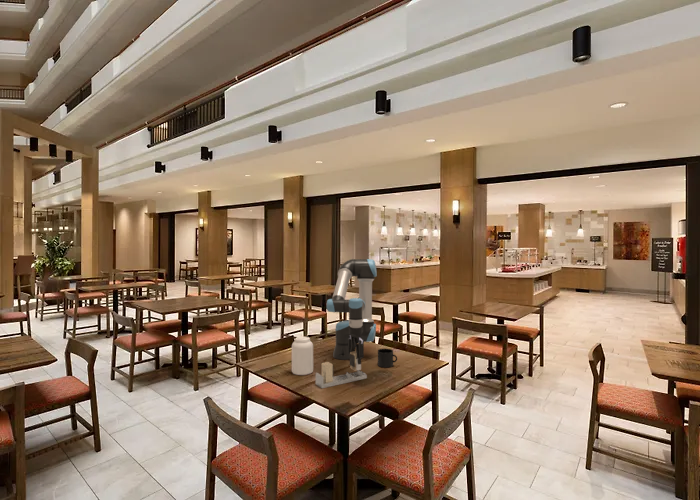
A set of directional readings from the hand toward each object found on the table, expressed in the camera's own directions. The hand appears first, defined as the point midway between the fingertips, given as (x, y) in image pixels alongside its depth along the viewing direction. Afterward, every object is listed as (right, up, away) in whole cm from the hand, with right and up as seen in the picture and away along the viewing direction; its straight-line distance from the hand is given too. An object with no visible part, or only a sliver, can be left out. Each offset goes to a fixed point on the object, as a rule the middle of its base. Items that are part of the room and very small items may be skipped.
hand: (355, 368), depth 207 cm
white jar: (-31, -6, +11) cm, 33 cm away
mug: (+20, -5, +22) cm, 30 cm away
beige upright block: (0, 0, 0) cm, 0 cm away
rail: (-8, -6, -4) cm, 10 cm away
